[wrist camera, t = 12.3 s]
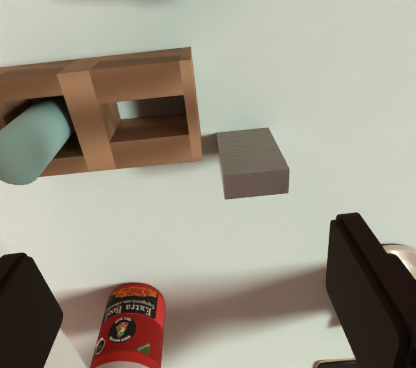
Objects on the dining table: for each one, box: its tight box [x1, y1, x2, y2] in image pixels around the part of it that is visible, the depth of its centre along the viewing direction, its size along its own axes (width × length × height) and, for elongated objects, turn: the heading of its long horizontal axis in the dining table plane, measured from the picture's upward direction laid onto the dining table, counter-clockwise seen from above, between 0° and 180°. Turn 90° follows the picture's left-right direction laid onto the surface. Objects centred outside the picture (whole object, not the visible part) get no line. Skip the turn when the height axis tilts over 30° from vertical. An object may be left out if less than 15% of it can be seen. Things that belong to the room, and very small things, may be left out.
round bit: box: [0, 95, 75, 185], centre depth 25 cm, size 4×4×10 cm
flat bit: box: [216, 128, 289, 199], centre depth 28 cm, size 2×5×8 cm, turn 95°
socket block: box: [0, 47, 202, 177], centre depth 27 cm, size 8×16×5 cm, turn 95°
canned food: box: [90, 283, 165, 368], centre depth 39 cm, size 8×8×11 cm
